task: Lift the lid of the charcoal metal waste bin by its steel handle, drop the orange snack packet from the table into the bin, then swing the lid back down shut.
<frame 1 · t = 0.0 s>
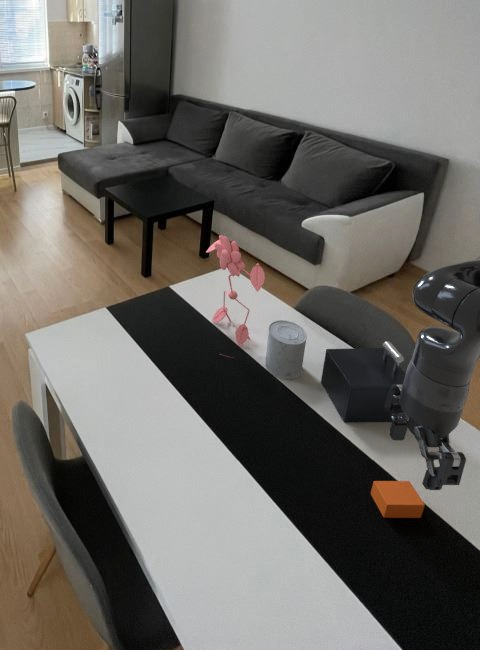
hand: (412, 461, 73), 22 cm above the table, tool pointing down, fingers open, 8 cm apart
bin: (359, 401, 109), on the table
figurine: (221, 336, 135), on the table
bin lid: (370, 359, 104), point 14 cm above the table, hinge at 0.0°
packet: (394, 505, 87), on the table
grey tin can: (283, 366, 122), on the table
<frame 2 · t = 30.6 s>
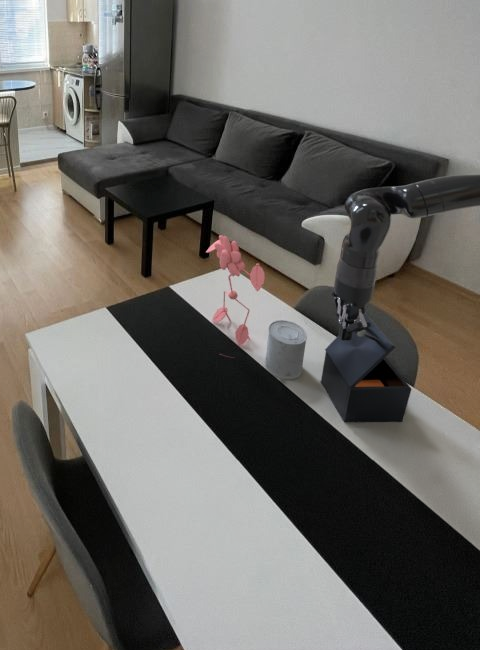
hand: (344, 338, 102), 21 cm above the table, tool pointing down, fingers closed
bin lid: (348, 344, 103), point 19 cm above the table, hinge at 58.5°, touching gripper
packet: (367, 398, 109), point 1 cm above the table, touching bin
everything else where it was.
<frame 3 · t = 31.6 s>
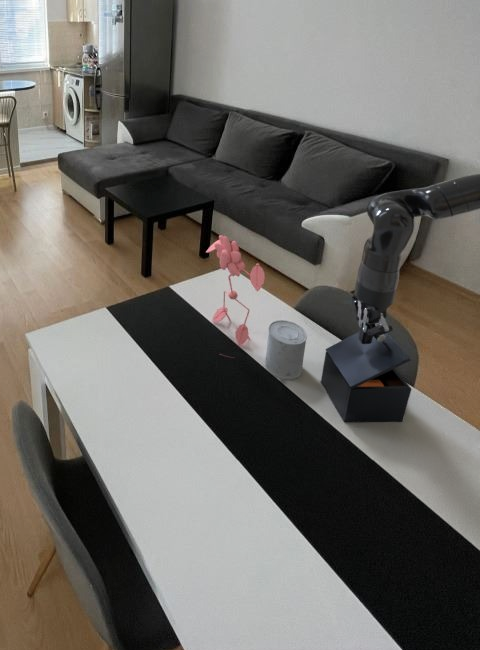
hand: (364, 341, 102), 19 cm above the table, tool pointing down, fingers closed
bin lid: (359, 347, 103), point 18 cm above the table, hinge at 35.8°, touching gripper
everything else where it was.
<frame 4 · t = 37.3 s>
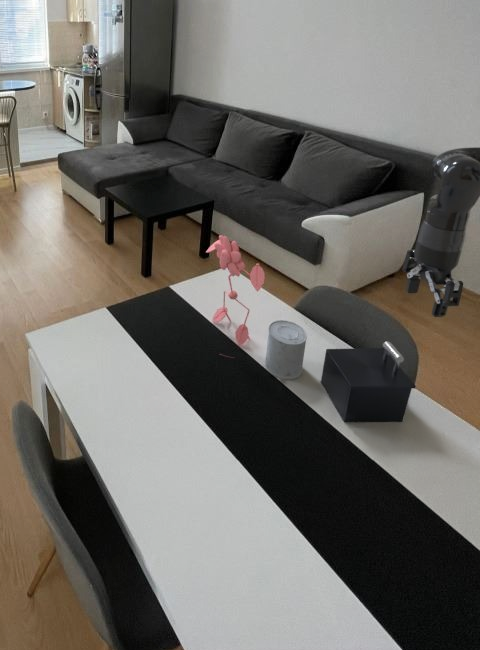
hand: (423, 303, 98), 30 cm above the table, tool pointing down, fingers open, 8 cm apart
bin lid: (370, 359, 104), point 14 cm above the table, hinge at -0.2°
everything else where it was.
at the end: bin lid reached +67° during the clip, +0° at the end; packet inside the target area in the bin (2.0 cm from its centre), point 0.8 cm above the bin's base; bin lid at +0° (first picture: +0°) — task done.
